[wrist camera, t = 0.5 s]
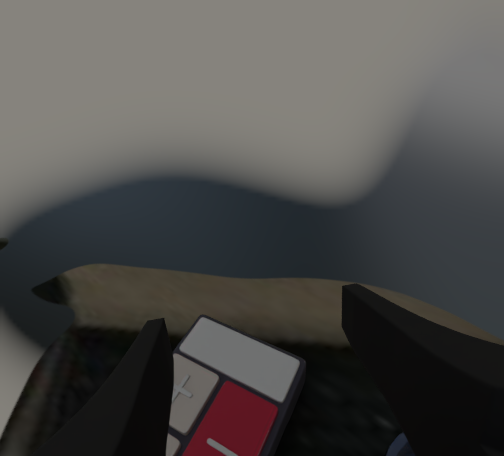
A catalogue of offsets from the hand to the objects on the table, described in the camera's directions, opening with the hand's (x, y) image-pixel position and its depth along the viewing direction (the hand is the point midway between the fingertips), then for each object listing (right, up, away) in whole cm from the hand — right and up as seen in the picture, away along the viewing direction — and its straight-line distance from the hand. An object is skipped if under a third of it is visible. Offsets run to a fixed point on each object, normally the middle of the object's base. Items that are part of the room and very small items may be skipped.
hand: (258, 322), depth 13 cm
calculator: (-4, -13, +14) cm, 20 cm away
